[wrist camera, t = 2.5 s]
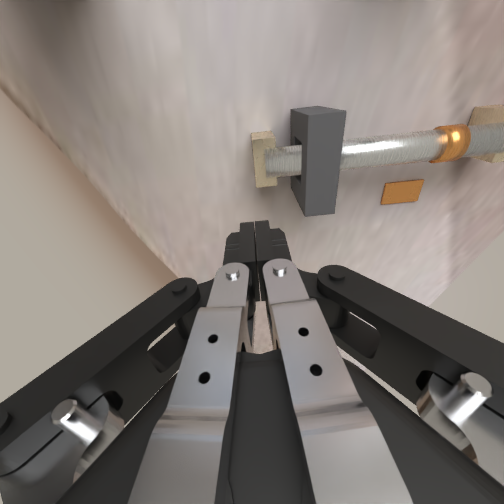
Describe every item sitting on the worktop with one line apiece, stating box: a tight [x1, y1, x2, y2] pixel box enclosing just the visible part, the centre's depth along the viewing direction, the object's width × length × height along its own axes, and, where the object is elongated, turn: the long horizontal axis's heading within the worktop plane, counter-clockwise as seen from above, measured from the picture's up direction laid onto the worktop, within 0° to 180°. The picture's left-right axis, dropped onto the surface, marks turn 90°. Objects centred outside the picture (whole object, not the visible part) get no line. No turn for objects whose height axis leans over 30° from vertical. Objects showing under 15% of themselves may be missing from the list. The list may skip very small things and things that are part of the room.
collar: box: [291, 106, 346, 217], centre depth 24 cm, size 3×9×9 cm, turn 6°
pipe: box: [251, 105, 504, 204], centre depth 27 cm, size 28×11×7 cm, turn 96°
